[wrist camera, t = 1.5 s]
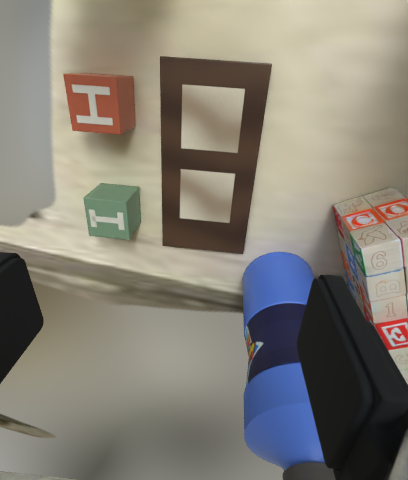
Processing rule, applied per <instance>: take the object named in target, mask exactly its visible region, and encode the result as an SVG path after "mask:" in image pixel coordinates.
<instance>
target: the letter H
mask: <svg viewBox="0 0 408 480" xmlns="http://www.w3.org/2000/svg"><path fill="white" fill-rule="evenodd" d="M64 80H65V87H66V93H67V99H68V105H69V111H70V118H71V124H72V130H73V131H84V132H96V133H108V134H120V135H121V134H123V133H124V132H126V131H128V130H130V129H132V128H133V127H135V126H136V122H135V104H134V86H133V76H121V75H107V74H93V73H70V74H64Z"/></svg>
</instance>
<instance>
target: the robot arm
mask: <svg viewBox="0 0 408 480" xmlns="http://www.w3.org/2000/svg"><path fill="white" fill-rule="evenodd" d="M42 326H43V316H42V313H41V310H40V307H39V304H38V301H37V298H36V294H35V292H34V288H33V285H32V282H31V279H30V276H29V273H28V270H27V267H26V263H25V261H24V260H23V259H22V258H20V256H19V255H18V254H16V253H5V252H0V383H1V382H2V381H3V379H4V378H5V377H6V375H7V374H8V373H9V371H10V370H11V369H12V367H13V366H14V365H15V363H16V362H17V360H18V359H19V358H20V357H21V355H22V354H23V353H24V351H25V350H26V349H27V347H28V346H29V345H30V343H31V342H32V341H33V339H34V338H35V337H36V335H37V334H38V333H39V331H40V330H41V328H42ZM297 351H298V356H299V360H300V364H301V368H302V372H303V376H304V380H305V384H306V388H307V392H308V396H309V400H310V404H311V408H312V413H313V417H314V421H315V425H316V429H317V433H318V437H319V441H320V445H321V449H322V453H323V457H324V461H325V464H326V466H327V467H328V468H330V469H333V472H334V475H335V479H336V480H408V384H407V383H406V381H405V379H404V377H403V376H402V374H401V372H400V370H399V369H398V367H397V365H396V364H395V362H394V360H393V358H392V357H391V355H390V353H389V351H388V350H387V348H386V346H385V344H384V343H383V341H382V339H381V338H380V336H379V334H378V332H377V331H376V329H375V327H374V326H373V325H372V323H371V322H369V321H366V319H365V317H364V315H363V314H362V312H361V310H360V308H359V306H358V305H357V303H356V301H355V299H354V297H353V296H352V294H351V292H350V290H349V289H348V287H347V285H346V283H345V281H344V280H343V278H342V277H341V276H338V275H324V274H322V275H320V276H319V278H318V279H313V281H312V285H311V288H310V292H309V296H308V300H307V304H306V307H305V311H304V315H303V319H302V323H301V326H300V330H299V334H298V338H297ZM0 480H76V479H67V478H57V477H48V476H39V475H30V474H21V473H12V472H2V471H0Z"/></svg>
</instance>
